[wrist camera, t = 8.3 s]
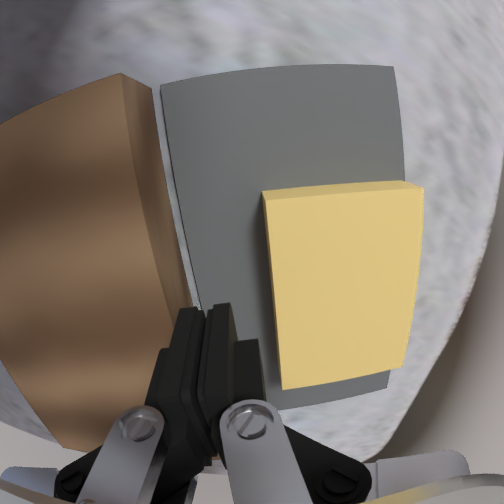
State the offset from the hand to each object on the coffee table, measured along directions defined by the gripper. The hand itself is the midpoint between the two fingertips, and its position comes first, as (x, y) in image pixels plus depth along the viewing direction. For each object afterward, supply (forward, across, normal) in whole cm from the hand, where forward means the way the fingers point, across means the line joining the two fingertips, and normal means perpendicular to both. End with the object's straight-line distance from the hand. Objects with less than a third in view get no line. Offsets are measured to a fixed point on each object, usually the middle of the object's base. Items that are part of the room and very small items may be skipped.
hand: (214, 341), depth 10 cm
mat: (+6, -4, +1) cm, 7 cm away
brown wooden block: (+6, +8, +1) cm, 10 cm away
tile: (+3, -6, +1) cm, 7 cm away
